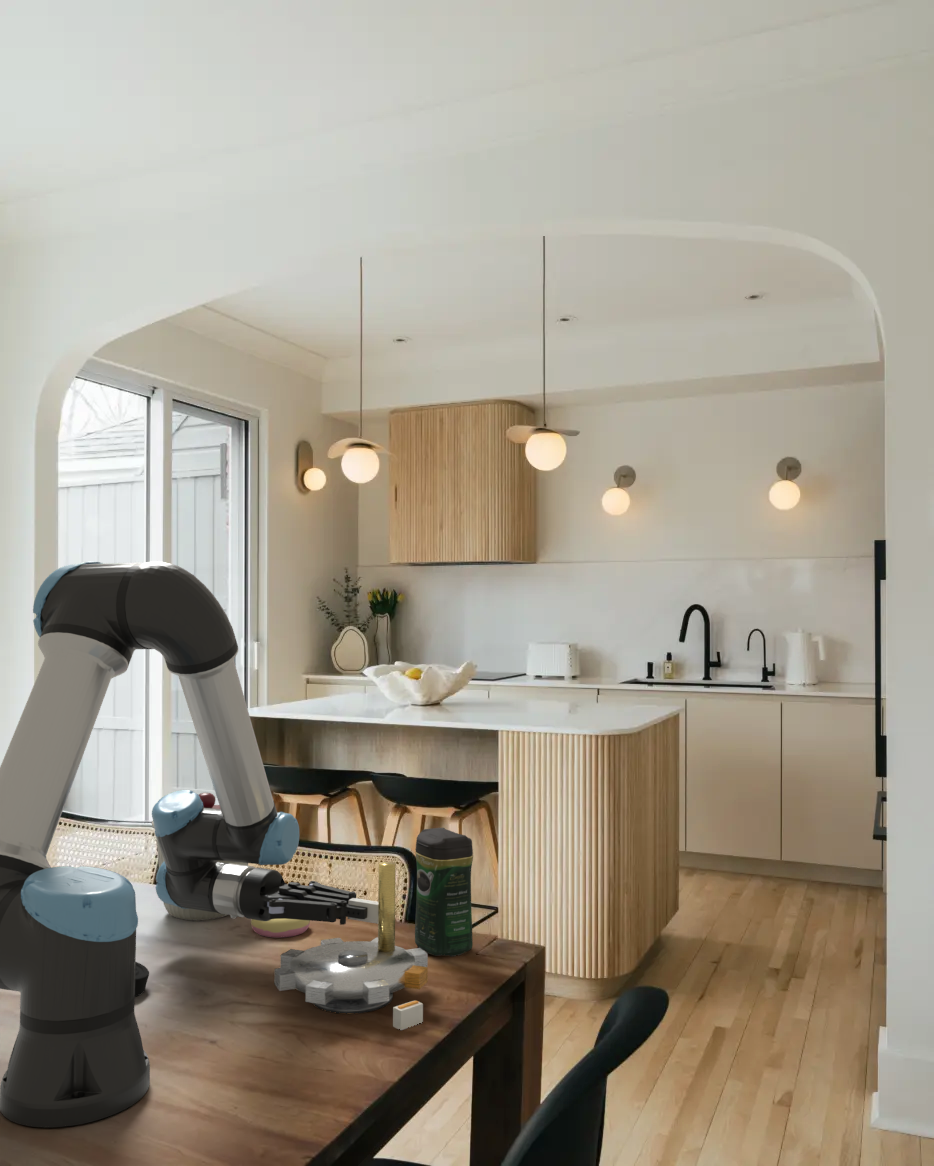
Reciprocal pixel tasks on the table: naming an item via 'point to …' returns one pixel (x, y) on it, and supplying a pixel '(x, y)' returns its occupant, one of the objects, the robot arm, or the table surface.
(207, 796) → the canister
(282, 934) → the donut
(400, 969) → the sprocket
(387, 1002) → the disc
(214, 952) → the table surface
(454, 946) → the coffee jar
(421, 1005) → the pointer
